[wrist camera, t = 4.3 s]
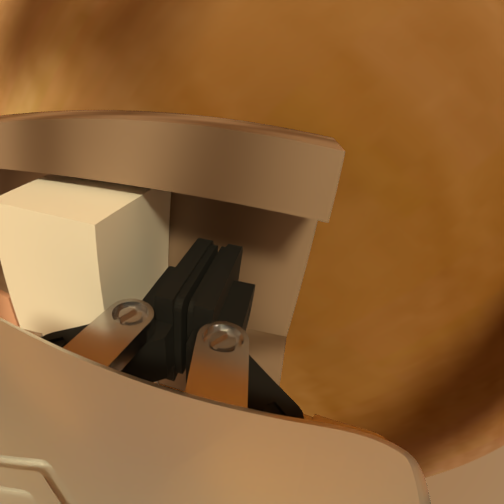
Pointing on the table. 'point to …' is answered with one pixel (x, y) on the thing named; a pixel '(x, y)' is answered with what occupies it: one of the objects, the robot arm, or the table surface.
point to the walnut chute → (197, 193)
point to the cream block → (80, 248)
